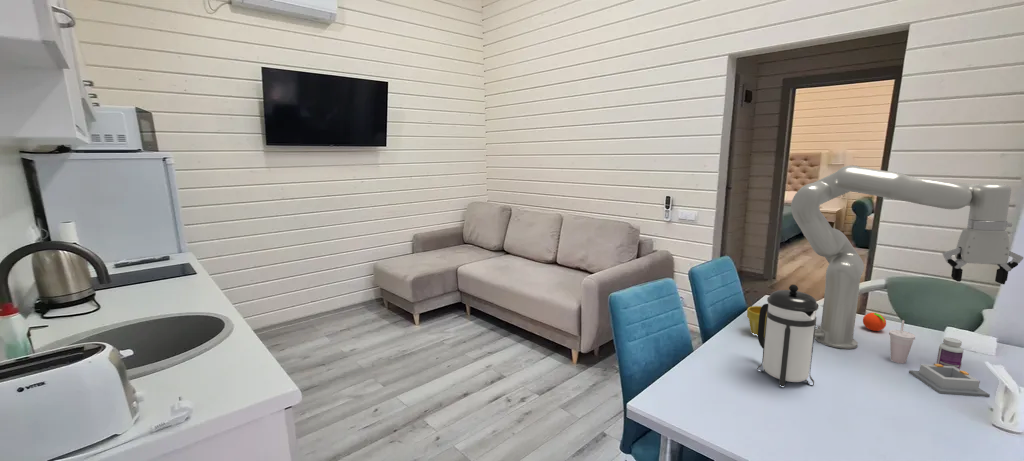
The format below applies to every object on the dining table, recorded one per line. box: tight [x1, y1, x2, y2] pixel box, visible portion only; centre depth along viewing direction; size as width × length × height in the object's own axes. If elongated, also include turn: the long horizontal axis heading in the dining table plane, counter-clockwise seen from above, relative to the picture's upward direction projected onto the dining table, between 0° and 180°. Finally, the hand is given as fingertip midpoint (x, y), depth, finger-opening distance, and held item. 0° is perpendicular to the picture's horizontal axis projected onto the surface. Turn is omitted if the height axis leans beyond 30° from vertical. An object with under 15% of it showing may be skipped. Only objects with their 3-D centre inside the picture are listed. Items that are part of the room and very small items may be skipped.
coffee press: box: [756, 284, 820, 386], centre depth 129 cm, size 17×16×30 cm
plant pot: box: [746, 305, 767, 336], centre depth 160 cm, size 10×10×10 cm
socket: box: [908, 363, 991, 398], centre depth 125 cm, size 12×12×4 cm
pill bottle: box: [936, 337, 964, 370], centre depth 133 cm, size 5×5×10 cm
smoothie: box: [888, 319, 916, 365], centre depth 138 cm, size 6×6×14 cm
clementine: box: [862, 312, 887, 332], centre depth 162 cm, size 8×7×7 cm
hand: (977, 281), depth 127 cm, fingers open, 9 cm apart
